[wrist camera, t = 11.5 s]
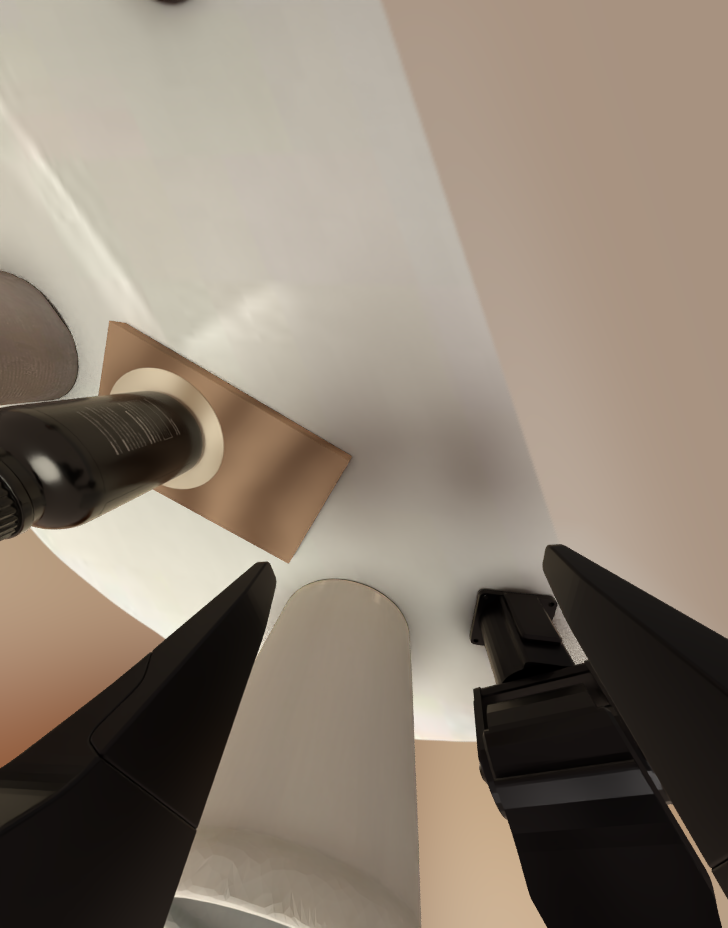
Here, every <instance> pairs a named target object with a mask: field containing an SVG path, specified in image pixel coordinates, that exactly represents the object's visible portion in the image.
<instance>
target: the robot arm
mask: <svg viewBox="0 0 728 928" xmlns="http://www.w3.org/2000/svg"><path fill="white" fill-rule="evenodd" d="M543 571H544V574H545V576H546V578H547V580H548V582H549V584H550V587H551V589H552V591H553V593H554V595H555V598H556V600H557V602H558V603H557V602H556V600H555V599H554V598H553V597H550V596H541V595H531V594H522V593H512V592H502V591H493V590H481V591H479V593H478V597H477V602H476V607H475V612H474V617H473V622H472V627H471V632H470V640H471V643H473V644H476V645H484V646H485V647H486V651H487V654H488V657H489V661H490V664H491V667H492V671H493V674H494V678H495V681H496V684H497V685H493V686H489V687H485V688H480V687H479V688H475V689H473V692H474V714H475V725H476V737H477V749H478V758H479V762H480V765H479V769H480V773H481V776H482V778H483V780H484V781H485V782H486V783H487V784H488V786H489V789H490V792H491V794H492V797H493V799H494V801H495V803H496V805H497V807H498V809H499V811H500V813H501V814H502V816H503V817H504V818H505V819H507V820H508V823H509V825H510V829H511V832H512V835H513V838H514V842H515V845H516V848H517V852H518V855H519V859H520V863H521V866H522V870H523V873H524V877H525V881H526V884H527V887H528V891H529V894H530V897H531V899H532V901H533V903H534V905H535V906H536V908H537V910H538V912H539V914H540V916H541V917H542V919H543V921H544V923H545V924H546V926H547V928H722V926H721V922H720V918H719V914H718V909H717V904H716V899H715V894H714V890H713V886H712V882H711V879H710V877H709V875H708V873H707V871H706V869H705V867H704V865H703V864H702V862H701V860H700V859H699V857H698V855H697V854H696V852H695V850H694V849H693V847H692V845H691V844H690V842H689V841H688V839H687V837H686V836H685V834H684V832H683V830H682V829H681V827H680V825H679V824H678V822H677V820H676V819H675V817H674V815H673V814H672V812H671V810H670V809H669V808H668V805H667V804H673V805H674V807H675V809H676V811H677V812H678V814H679V816H680V817H681V819H682V821H683V823H684V824H685V826H686V828H687V829H688V831H689V833H690V834H691V836H692V838H693V840H694V841H695V843H696V845H697V846H698V848H699V850H700V852H701V853H702V855H703V857H704V858H705V860H706V862H707V864H708V865H709V867H711V868H712V873H713V874H714V876H715V878H716V879H717V881H718V883H719V885H720V886H721V888H722V890H723V892H724V893H725V895H726V897H727V899H728V639H727V638H725V637H723V636H722V635H720V634H718V633H716V632H715V631H713V630H711V629H709V628H708V627H706V626H704V625H702V624H701V623H699V622H697V621H696V620H693V619H692V618H690V617H689V616H687V615H685V614H683V613H682V612H680V611H678V610H676V609H674V608H673V607H671V606H669V605H668V604H665V603H664V602H662V601H661V600H659V599H657V598H655V597H654V596H652V595H650V594H648V593H647V592H645V591H643V590H641V589H640V588H638V587H636V586H634V585H633V584H631V583H629V582H627V581H626V580H624V579H622V578H620V577H619V576H617V575H615V574H613V573H612V572H610V571H608V570H607V569H605V568H603V567H601V566H599V565H598V564H596V563H594V562H592V561H591V560H589V559H587V558H586V557H584V556H582V555H580V554H579V553H577V552H575V551H573V550H572V549H570V548H568V547H566V546H564V545H562V544H556V545H548V546H547V547H546V549H545V554H544V559H543ZM275 588H276V577H275V574H274V572H273V569H272V567H271V565H270V563H269V562H257V563H255V564H254V565H253V566H252V567H251V568H249V569H248V570H247V571H246V572H245V573H243V574H242V575H241V576H240V577H239V578H238V579H236V580H235V581H234V582H233V583H232V584H230V585H229V586H228V587H227V588H226V589H225V590H223V591H222V592H221V593H220V594H219V595H217V596H216V597H215V598H214V599H213V600H212V601H210V602H209V603H208V604H207V605H206V606H204V607H203V608H202V609H201V610H200V611H198V612H197V613H196V614H195V615H194V616H193V617H191V618H190V619H189V620H188V621H187V622H185V623H184V624H183V625H182V626H181V627H180V628H178V629H177V630H176V631H175V632H174V633H172V634H171V635H170V636H169V637H168V638H166V639H165V640H164V641H163V642H162V643H161V644H159V645H158V646H157V647H156V648H155V649H154V650H153V651H152V652H150V653H149V654H147V655H146V656H145V657H144V658H143V659H142V660H140V661H139V662H138V663H137V664H136V665H134V666H133V667H132V668H131V669H130V670H128V671H127V672H126V673H125V674H123V675H122V676H121V677H120V678H119V679H117V680H116V681H115V682H114V683H113V684H111V685H110V686H109V687H107V688H106V689H105V690H103V691H102V692H101V693H100V694H98V695H97V696H96V697H95V698H93V699H92V700H91V701H89V702H88V703H87V704H86V705H84V706H83V707H82V708H80V709H79V710H78V711H76V712H75V713H74V714H73V715H71V716H70V717H69V718H67V719H66V720H65V721H63V722H62V723H61V724H59V725H58V726H57V727H56V728H54V729H53V730H52V731H50V732H49V733H48V734H46V735H45V736H44V737H42V738H41V739H40V740H39V741H37V742H36V743H35V744H33V745H32V746H31V747H29V748H28V749H27V750H25V751H24V752H23V753H21V754H20V755H19V756H17V757H16V758H15V759H13V760H12V761H11V762H9V763H8V764H6V765H5V766H3V767H1V768H0V928H164V926H165V923H166V920H167V917H168V914H169V911H170V908H171V905H172V902H173V899H174V896H175V893H176V890H177V888H178V885H179V882H180V879H181V876H182V873H183V870H184V867H185V864H186V861H187V858H188V855H189V852H190V850H191V847H192V844H193V841H194V838H195V835H196V832H197V828H198V825H199V823H200V820H201V817H202V814H203V811H204V808H205V805H206V802H207V799H208V796H209V793H210V790H211V788H212V785H213V782H214V779H215V776H216V773H217V770H218V767H219V764H220V761H221V758H222V755H223V752H224V750H225V747H226V744H227V741H228V738H229V735H230V732H231V729H232V726H233V723H234V720H235V717H236V714H237V712H238V709H239V706H240V703H241V700H242V697H243V694H244V691H245V688H246V685H247V682H248V679H249V676H250V674H251V671H252V668H253V665H254V662H255V659H256V656H257V653H258V650H259V647H260V644H261V641H262V639H263V635H264V632H265V629H266V625H267V621H268V617H269V613H270V609H271V604H272V600H273V596H274V592H275ZM484 595H486V596H484ZM550 602H551V603H550ZM557 604H559V606H560V608H561V611H562V613H563V615H564V617H565V619H566V621H567V623H568V625H569V627H570V629H571V630H572V632H573V634H574V636H575V637H576V639H577V641H578V642H579V644H580V646H581V648H582V649H583V651H584V653H585V654H586V656H587V658H588V660H586V661H584V662H585V663H582V664H577V665H575V663H574V662H573V660H572V658H571V656H570V655H569V653H568V651H567V650H566V648H565V646H564V644H563V643H562V638H561V637H560V635H559V633H558V631H557V630H556V628H555V626H554V625H553V623H552V620H553V617H554V614H555V611H556V608H557Z"/></svg>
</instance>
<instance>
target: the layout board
mask: <svg viewBox="0 0 728 928" xmlns="http://www.w3.org/2000/svg"><path fill="white" fill-rule="evenodd" d="M139 391H155V392H160V393H163V394H166V395H168V396H170V397H172V398H174V399H176V400H177V401H179V402H180V403H181V404H182V405H184V406H185V407H186V408H187V409H188V410H189V411H190V413H191V414H192V415H193V417H194V418H195V420H196V422H197V423H198V426H199V428H200V431H201V434H202V440H203V448H202V454H201V456H200V459H199V461H198V462H197V464H196V465H195V466H194V467H193V468H192V469H190V470H189V471H187V472H185V473H183V474H181V475H180V476H178V477H176V478H174V479H172V480H170V481H168V482H166V483H164V484H162V485H160V486H158V487H156V488H154V489H153V490H155V491H157V492H159V493H161V494H163V495H164V496H166V497H168V498H170V499H172V500H173V501H175V502H177V503H179V504H181V505H183V506H184V507H186V508H188V509H190V510H192V511H194V512H195V513H197V514H199V515H201V516H203V517H204V518H206V519H208V520H210V521H212V522H214V523H215V524H217V525H219V526H221V527H223V528H225V529H226V530H228V531H230V532H232V533H234V534H235V535H237V536H239V537H241V538H243V539H245V540H246V541H248V542H250V543H252V544H254V545H256V546H257V547H259V548H261V549H263V550H265V551H266V552H268V553H270V554H272V555H274V556H276V557H277V558H279V559H281V560H283V561H285V562H287V563H288V564H289V562H290V560H291V559H292V557H293V555H294V554H295V552H296V550H297V548H298V547H299V545H300V543H301V542H302V540H303V538H304V537H305V535H306V533H307V532H308V530H309V528H310V527H311V525H312V523H313V522H314V520H315V518H316V516H317V515H318V513H319V511H320V510H321V508H322V506H323V505H324V503H325V501H326V500H327V498H328V496H329V495H330V493H331V491H332V490H333V488H334V486H335V485H336V483H337V481H338V479H339V478H340V476H341V474H342V473H343V471H344V469H345V468H346V466H347V464H348V463H349V461H350V459H351V457H352V456H351V455H349V454H347V453H346V452H344V451H342V450H340V449H339V448H337V447H335V446H334V445H332V444H330V443H329V442H327V441H325V440H323V439H322V438H320V437H318V436H317V435H315V434H313V433H312V432H310V431H308V430H306V429H305V428H303V427H301V426H300V425H298V424H296V423H295V422H293V421H291V420H289V419H288V418H286V417H284V416H283V415H281V414H279V413H278V412H276V411H274V410H272V409H271V408H269V407H267V406H266V405H264V404H262V403H261V402H259V401H257V400H255V399H254V398H252V397H250V396H249V395H247V394H245V393H244V392H242V391H240V390H238V389H237V388H235V387H233V386H232V385H230V384H228V383H227V382H225V381H223V380H221V379H220V378H218V377H216V376H215V375H213V374H211V373H210V372H208V371H206V370H204V369H203V368H201V367H199V366H198V365H196V364H194V363H193V362H191V361H189V360H187V359H186V358H184V357H182V356H181V355H179V354H177V353H176V352H174V351H172V350H170V349H169V348H167V347H165V346H164V345H162V344H160V343H159V342H157V341H155V340H153V339H152V338H150V337H148V336H147V335H145V334H143V333H142V332H140V331H138V330H136V329H135V328H133V327H131V326H130V325H128V324H126V323H122V322H115V321H109V327H108V334H107V341H106V348H105V354H104V361H103V368H102V375H101V381H100V388H99V395H98V396H103V395H111V394H120V393H129V392H139Z"/></svg>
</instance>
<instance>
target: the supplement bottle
mask: <svg viewBox="0 0 728 928" xmlns="http://www.w3.org/2000/svg"><path fill="white" fill-rule="evenodd" d="M202 448H203V440H202V434H201V431H200V428H199V426H198V423H197V422H196V420H195V418H194V417H193V415H192V414H191V413H190V411H189V410H188V409H187V408H186V407H185V406H184V405H182V404H181V403H180V402H179V401H177V400H176V399H174V398H172V397H170V396H168V395H166V394H163V393H160V392H155V391H139V392H129V393H120V394H111V395H103V396H94V397H85V398H77V399H68V400H59V401H51V402H42V403H33V404H25V405H16V406H9V407H3V408H0V541H1V540H4V539H10V538H13V537H15V536H17V535H19V534H22V533H24V532H25V531H27V530H28V529H29V528H30V527H31V526H32V527H37V528H42V529H67V528H73V527H77V526H80V525H83V524H85V523H87V522H89V521H91V520H93V519H95V518H97V517H99V516H101V515H103V514H105V513H107V512H109V511H111V510H113V509H115V508H117V507H119V506H121V505H123V504H125V503H127V502H129V501H131V500H133V499H135V498H137V497H139V496H141V495H143V494H144V493H146V492H148V491H150V490H152V489H154V488H156V487H158V486H160V485H162V484H164V483H166V482H168V481H170V480H172V479H174V478H176V477H178V476H180V475H181V474H183V473H185V472H187V471H189V470H190V469H192V468H193V467H194V466H195V465H196V464H197V462H198V461H199V459H200V456H201V454H202Z"/></svg>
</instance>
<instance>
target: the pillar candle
mask: <svg viewBox="0 0 728 928" xmlns="http://www.w3.org/2000/svg"><path fill="white" fill-rule="evenodd" d="M77 362H78V358H77V352H76V350H75V343H74V340H73V338H72V335H71V334H70V332H69V330H68V328H67V327H66V326H65V325H64V323H63V322H62V320H61V319H60V318H59V316H58V315H57V313H56V312H55V311H54V309H53V308H52V306H51V305H50V304H49V302H48V301H47V300H46V299H45V297H44V296H43V295H42V294H41V293H40V292H39V291H38V290H37V289H36V288H34V287H33V286H32V285H31V284H29V283H28V282H26V281H25V280H23V279H21V278H18V277H15V276H14V275H12V274H10V273H7V272H3V271H0V405H7V404H17V403H26V402H36V401H47V400H54V399H58V398H60V397H62V396H64V395H65V394H67V393H68V392H69V391H70V389H71V388H72V386H73V384H74V382H75V380H76V377H77V370H78V366H77Z"/></svg>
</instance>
